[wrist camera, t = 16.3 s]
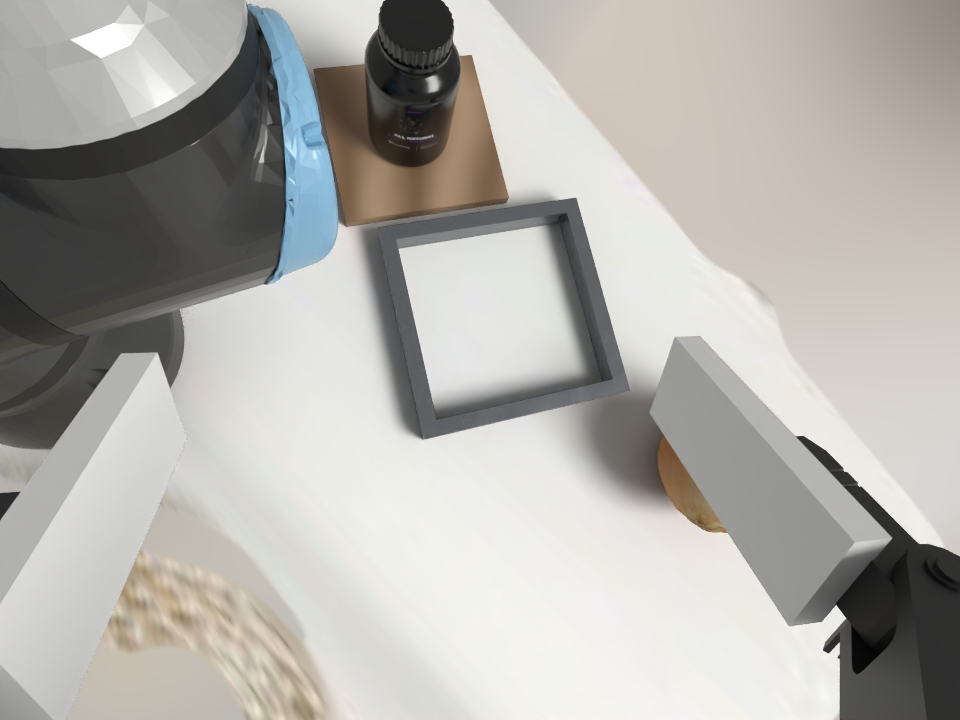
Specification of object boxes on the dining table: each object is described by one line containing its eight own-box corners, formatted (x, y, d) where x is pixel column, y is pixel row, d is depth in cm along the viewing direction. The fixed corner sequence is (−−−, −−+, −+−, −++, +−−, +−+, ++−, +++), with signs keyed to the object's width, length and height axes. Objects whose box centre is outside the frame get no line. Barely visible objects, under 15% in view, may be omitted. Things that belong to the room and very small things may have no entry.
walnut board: (346, 226, 43) (345, 221, 42) (315, 77, 44) (313, 69, 43) (506, 202, 45) (508, 197, 44) (470, 63, 47) (471, 55, 46)
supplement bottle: (403, 185, 43) (407, 86, 31) (351, 124, 43) (336, 3, 32) (465, 143, 45) (490, 33, 33) (414, 84, 45) (422, -45, 33)
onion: (622, 504, 42) (690, 520, 33) (652, 392, 44) (724, 375, 35) (726, 542, 43) (822, 567, 33) (750, 430, 45) (848, 424, 36)
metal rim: (423, 439, 40) (424, 439, 39) (378, 237, 43) (378, 227, 41) (619, 393, 44) (630, 390, 42) (568, 208, 46) (576, 197, 44)
